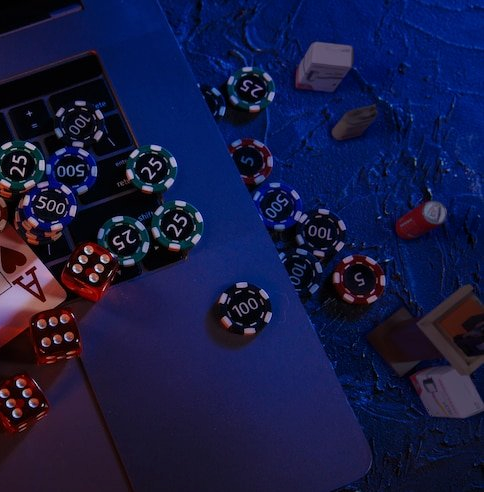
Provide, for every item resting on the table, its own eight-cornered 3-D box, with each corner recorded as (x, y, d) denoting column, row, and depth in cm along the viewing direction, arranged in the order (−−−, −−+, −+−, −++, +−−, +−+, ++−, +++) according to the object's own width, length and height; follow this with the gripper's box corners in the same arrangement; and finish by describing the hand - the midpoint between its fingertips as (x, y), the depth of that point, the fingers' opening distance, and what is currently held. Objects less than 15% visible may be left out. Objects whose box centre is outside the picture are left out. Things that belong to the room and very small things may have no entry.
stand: (401, 307, 125) (462, 288, 103) (435, 347, 123) (505, 336, 101) (364, 336, 124) (417, 323, 102) (398, 377, 122) (460, 373, 100)
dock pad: (462, 286, 103) (470, 283, 101) (507, 336, 101) (516, 335, 99) (415, 323, 102) (422, 321, 99) (460, 375, 100) (468, 375, 97)
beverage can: (390, 234, 129) (417, 218, 117) (398, 213, 130) (426, 195, 118) (413, 245, 128) (443, 229, 116) (421, 223, 129) (452, 206, 118)
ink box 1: (294, 90, 137) (311, 61, 125) (295, 69, 138) (312, 39, 126) (334, 94, 136) (354, 66, 125) (334, 73, 137) (354, 44, 126)
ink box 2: (407, 375, 122) (437, 373, 110) (430, 365, 122) (462, 362, 111) (429, 417, 120) (462, 420, 109) (452, 407, 120) (487, 409, 109)
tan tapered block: (334, 142, 134) (351, 122, 124) (328, 126, 134) (345, 105, 125) (365, 134, 134) (385, 113, 124) (359, 118, 135) (378, 97, 125)
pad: (467, 299, 101) (491, 292, 95) (496, 331, 100) (522, 326, 94) (438, 323, 100) (460, 318, 94) (466, 355, 99) (491, 352, 93)
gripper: (529, 368, 80) (461, 372, 96) (605, 303, 82) (526, 317, 98) (487, 321, 81) (427, 333, 97) (564, 258, 83) (493, 280, 99)
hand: (477, 325), depth 97 cm, fingers open, 8 cm apart
